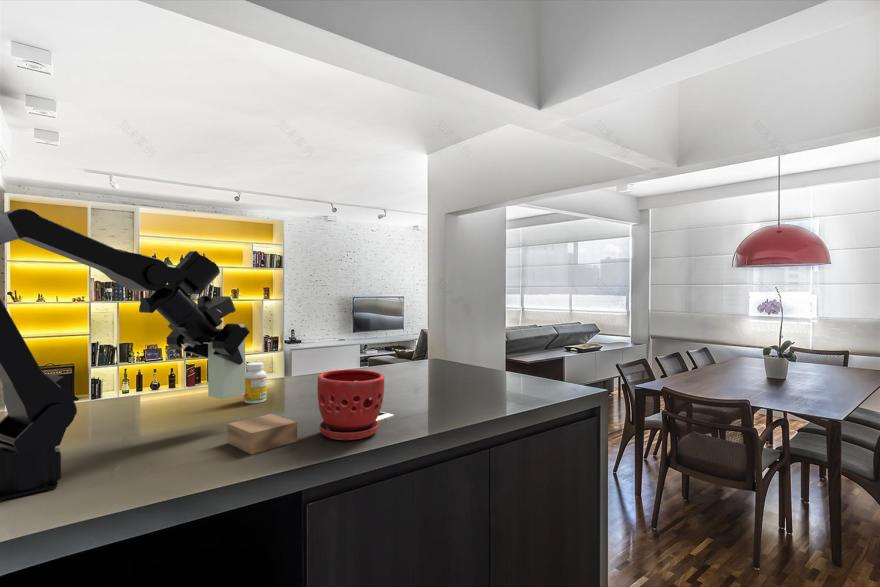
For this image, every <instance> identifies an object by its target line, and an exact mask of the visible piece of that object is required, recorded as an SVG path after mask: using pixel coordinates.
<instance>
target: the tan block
mask: <svg viewBox="0 0 880 587" xmlns="http://www.w3.org/2000/svg"><path fill="white" fill-rule="evenodd" d="M296 442H298V422H297V421H295V420H292V419H290V418H289V419H288V418H285V417H282V416H280V415H277V414H274V413H271V414H270V413H269V414H266V415H265V414H264V415H261V416H256V417H251V418H247V419H243V420H239V421H233V422H228V423H227V444H228V445H231V446H232V447H235V448H237V449H239V450H241V451H243V452H246V453H248V454H250V455H254V454H257V453H261V452H265V451H268V450H272V449H275V448H279V447H283V446H285V445H290V444H293V443H296Z"/></svg>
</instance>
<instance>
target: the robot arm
mask: <svg viewBox="0 0 880 587" xmlns="http://www.w3.org/2000/svg"><path fill="white" fill-rule="evenodd" d="M16 240H20V241H22V242H24V243H28V244H30V245H33V246H36V247H38V248H39V249H44V250H46V251H49V252H51V253H53V254H57V255H58V256H61V257H64V258H66V259H70V260H71V261H73V262H76V263H80V264H81V265H84V266H88V267H90V268H93V269H95V270H98V271H99V272H101V273H102V274H104V275H105V276H106V277H107V278H108V279H110V280H111V281H112V282H115V283H116V284H118V285H119V286H121V287H123V288H125V289H127V290H129V291H133V292H152V293H151V294H150V295H149V296H147V297H140V298H139V300H140V301H139V302H140V303H139V309H138V312H139V313H141V314H142V313H143V314H153V313H155V312H156V311H157V312H158V313H159V315H161V316H162V317H163V318H164V319H165V320H166V321H167V322H168V323H169V324H168V326H167V327H168V328H169V329H170V330H171V332H170V333H169V334H168V335H167V337H166V345H168V346H169V348H171V349H172V350H175V351H176V350H177V351H181V350H182V349H183V346H184V349H183V351H184V352H185V353H189V354H192V355H194V356H198V357H201V358H206V359H208V344H210V343H212V348H213V349H214V350H215V352H214V353H213V355H216V356H218V357H221V358H223V359H225V360H228V361H230V362H233V363H235V364H238V365H241V364H242V362H243V359H242V356H241V354H240V351H239V349H238V347H239V346H240V344H241V343H242V342H243V340H244V339H245V340H246V338H247V336H248V335H250V332H251V331H250V329H249V328H248V327H247V326H246V325H245V323H235V322H234V323H233V322H231V323H226V324H225V325H224V326H223V328H217V327H219V326H220V325H221V324H222V323H223V320H222V319H223V318H224V317H226V316H228V315H230V314H233V313H235V312H236V311H237V309H236V307H235V305H234V304H235V303H234V301H233V299H232V297H231V296H225V295H224V296H223V295H220V296H212V297H211V296H209V295H202V293H203V292H204V291H205V290H206V289H207V288H208V287H209V286H210V284H211V283H212V282H213V281H214V280H215V279H216V278H217V277H218V276H219V275H220V273H221V272H220V271H221V270H220V268H219V266H218V265H217V263H216V262H215V261H213V260H211V259H209V258H208V257H206V256H204V255H201V254H200V253H199V251H197V250H191V251H188V252H187V253H186V254H185V256H184V257H183V258H182V260H181V261H179V262H178V263H177V265H176V266H174V267H173V266H170V265H168V264H167V263H166V262H165V261H163V260H162V259H161V258H158V257H157V258H156V257H153V256H148V255H145V254H140V253H136V252H131V251H125V250H120V249H117V248H115V247H112V246H111V245H108V244H106V243H104V242H101V241H99V240H96V239H94V238H92V237H89V236H87V235H85V234H83V233H80V232H77V231H76V230H73V229H70V228H69V227H66V226H64V225H62V224H59V223H58V222H55V221H53V220H50V219H49V218H45V217H43V216H41V215H40V214H38V213H37V212H35V211H33V210H31V209H27V208H18V209H13V210H8V211H5V212H2V213H0V245H3V244H6V243H9V242H10V243H11V242H13V241H16ZM194 294H195V295H202V296H200V297H198V298H197V300H196V301H197V303H196V302H195V301H194V299H192V297H191V296H192V295H194ZM0 381H1V383H2V391H3V393H2V394H3V404H4V405H5V409H6V412H7V415H5V417H3V418H2V419H1V420H0V501H3V500H8V499H14V498H17V497H22V496H26V495H30V494H31V495H32V494H34V493H40V492H44V491H48V490H49V491H50V490H53V489H56V488H57V487H58V481H60V480H61V478H62V453H61V449H60V448H59V446H60V445H61V444H62V441H63V438H64V437H65V436H64V435H65V433H66V430H67V428H68V427H69V426H70V425H72V423H73V422H74V420H75V417H76V415H77V414H78V407H77V405H76V401H79V400H80V398H79V397H78V396H75V394H74V392H72V390H71V387H70V383H69V381H68V380H67V378H66V377H65V376H61V375H56V374H51V373H49V374H48V373H45V372H44V371H43V370H42V369H41V367H40V365H39V364H38V362H37V360H36V358H35V356H34V355H33V353H32V352H31V349H30V348H29V346H28V345H27V343H26V341H25V339H24V337H23V336H22V334H21V332H20V330H19V329H18V327H17V325H16V323H15V322H14V319H13V318H12V316H11V315H10V313H9V311H8V309H7V308H6V306H5V304H4V302H3V300H2V298H0Z"/></svg>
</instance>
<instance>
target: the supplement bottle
mask: <svg viewBox="0 0 880 587" xmlns="http://www.w3.org/2000/svg"><path fill="white" fill-rule="evenodd" d="M264 367H265V366H264V362H257V361H256V362H249V363H247V364H246V371H245V394H244V395H243V400H244V401H243V402H244V403H246V404H260V403H263V402H265V401H267V397H268V396H267V372H266V371H264Z"/></svg>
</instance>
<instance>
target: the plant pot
mask: <svg viewBox="0 0 880 587" xmlns="http://www.w3.org/2000/svg"><path fill="white" fill-rule="evenodd" d="M316 389H317V401H318V409H319V412H320V415H321V418H322V420H323V421H322V422H321V423H319V427H318V428H319V431H320V432H321V434H322V435H323V436H325V437H326V438H330V439H332V440H336V441H338V440H339V441H355V440H361V439H365V438H367V437H368V438H369V437H370V436H372V435H373V434H375V433H376V431H377V430H378V429H379V427H380V426H379V421H376V419H377V417H378V415H379V413H380V412H381V410H382V405H383V401H384V394H385V375H384V374H382V372H377V371H374V370H365V369H336V370H329V371H328V370H327V371H324V372H321V373H320V374H319V375H318V376H317V387H316Z"/></svg>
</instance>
